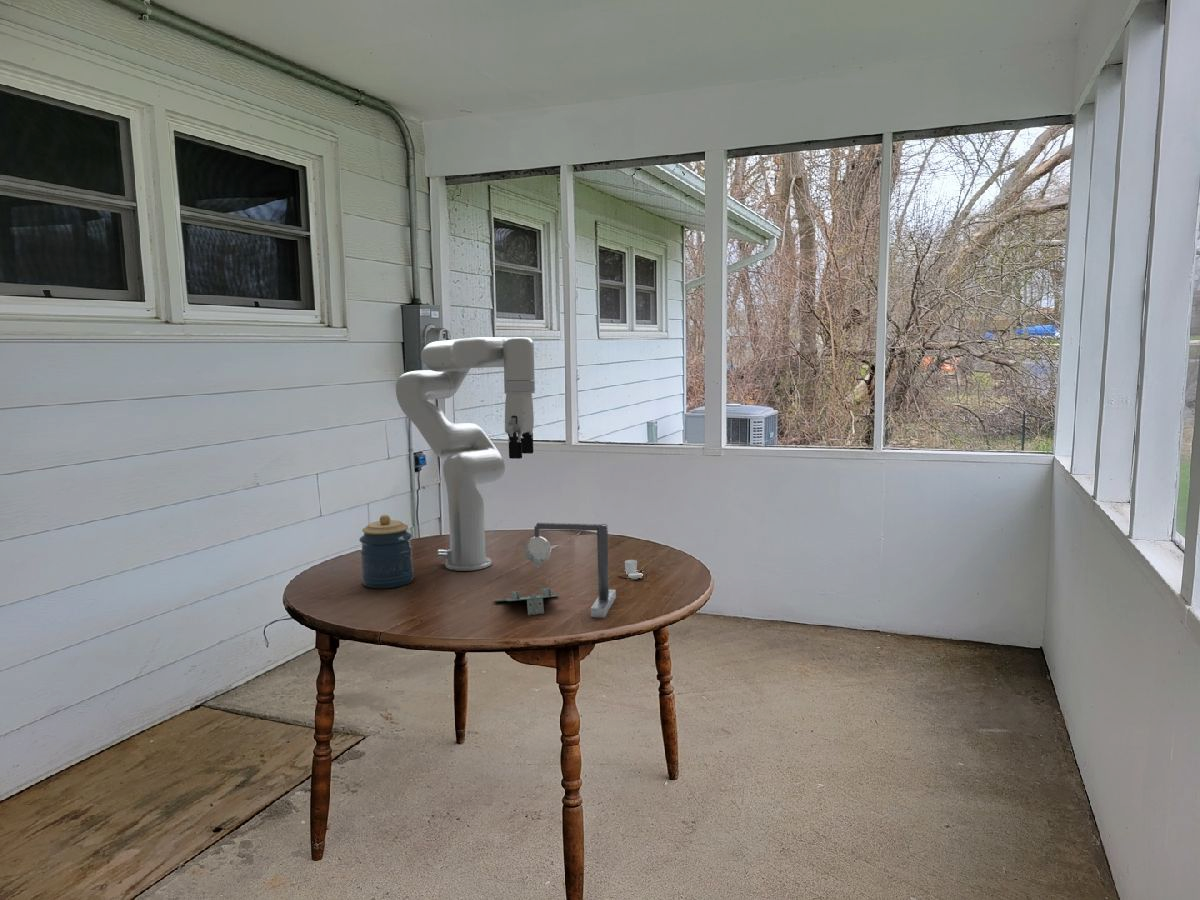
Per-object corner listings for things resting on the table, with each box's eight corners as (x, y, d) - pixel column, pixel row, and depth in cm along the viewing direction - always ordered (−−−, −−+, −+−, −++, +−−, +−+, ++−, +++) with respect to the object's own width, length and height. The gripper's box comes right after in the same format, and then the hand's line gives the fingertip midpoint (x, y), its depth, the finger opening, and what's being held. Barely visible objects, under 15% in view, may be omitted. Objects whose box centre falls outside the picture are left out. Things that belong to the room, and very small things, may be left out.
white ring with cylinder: (643, 582, 198) (643, 566, 197) (612, 581, 199) (612, 565, 199) (648, 573, 206) (648, 558, 206) (619, 571, 208) (619, 556, 207)
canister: (421, 583, 199) (417, 515, 197) (370, 592, 192) (366, 522, 190) (404, 572, 210) (401, 507, 208) (355, 580, 203) (352, 513, 201)
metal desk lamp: (517, 613, 174) (515, 529, 172) (535, 594, 188) (533, 516, 186) (604, 617, 170) (602, 532, 168) (615, 598, 184) (614, 518, 182)
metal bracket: (567, 586, 176) (501, 592, 172) (570, 612, 175) (503, 619, 171) (555, 586, 189) (493, 592, 185) (557, 611, 188) (495, 617, 184)
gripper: (515, 386, 203) (517, 451, 205) (493, 389, 186) (496, 460, 188) (543, 385, 201) (545, 451, 204) (523, 389, 185) (525, 460, 187)
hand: (521, 455), depth 196 cm, fingers open, 9 cm apart
